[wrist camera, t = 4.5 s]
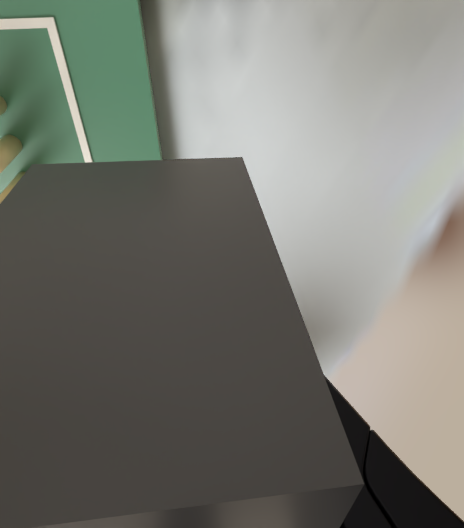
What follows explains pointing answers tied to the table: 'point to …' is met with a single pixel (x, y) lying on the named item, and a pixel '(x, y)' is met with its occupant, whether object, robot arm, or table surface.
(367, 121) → the table surface
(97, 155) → the pcb board
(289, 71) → the table surface
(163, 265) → the grey ice pop
